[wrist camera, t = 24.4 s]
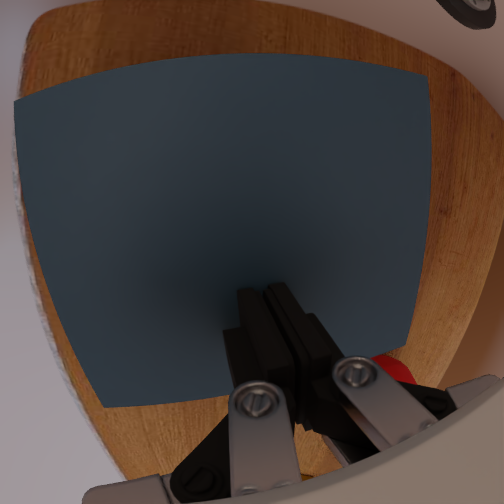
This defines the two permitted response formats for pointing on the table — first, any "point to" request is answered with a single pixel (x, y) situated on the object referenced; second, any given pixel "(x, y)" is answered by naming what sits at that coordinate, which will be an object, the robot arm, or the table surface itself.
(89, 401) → the table surface
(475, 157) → the table surface
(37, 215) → the lid
